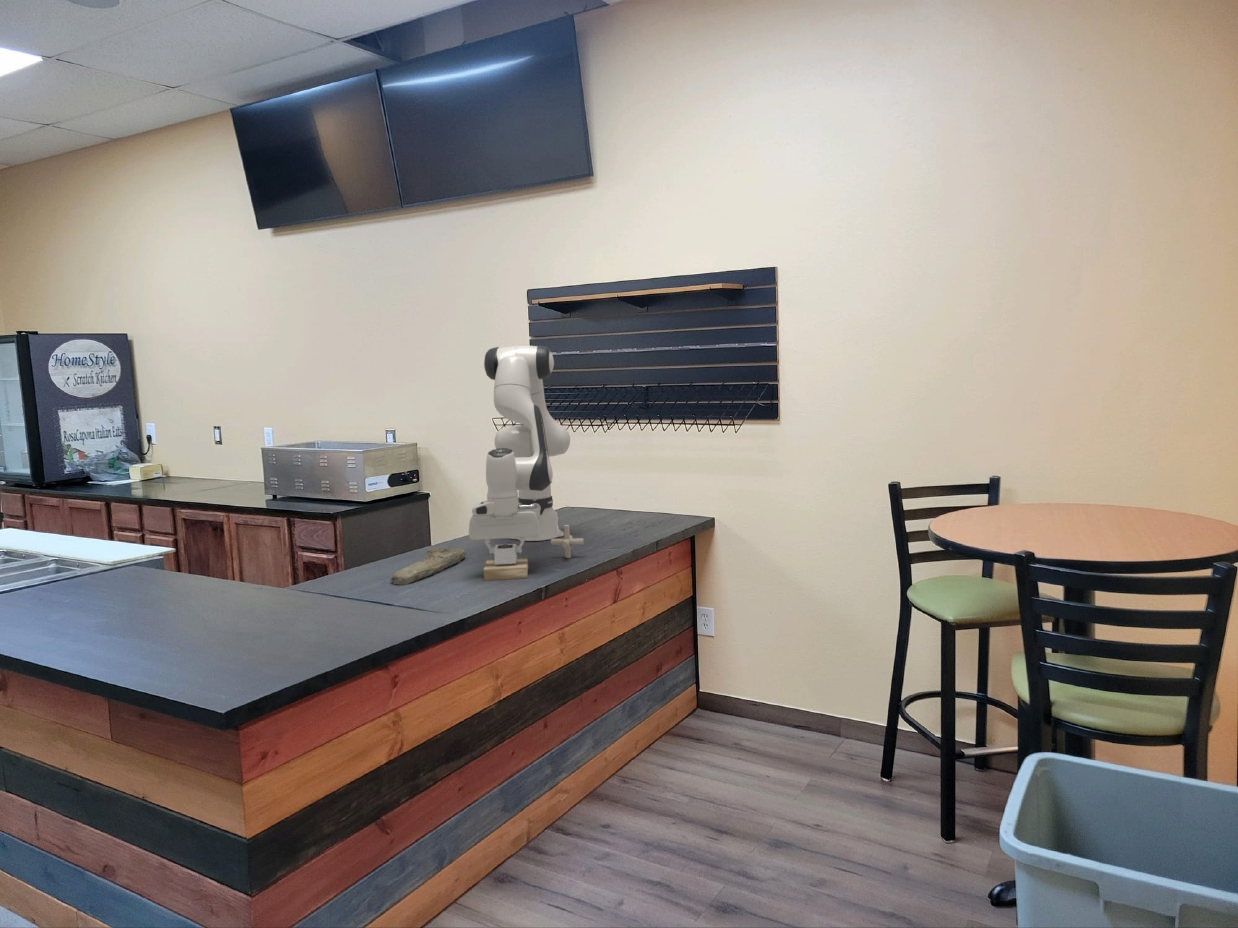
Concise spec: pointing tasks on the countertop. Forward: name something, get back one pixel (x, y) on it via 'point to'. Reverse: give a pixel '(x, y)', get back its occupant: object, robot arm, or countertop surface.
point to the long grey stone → (428, 565)
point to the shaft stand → (506, 569)
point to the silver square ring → (505, 554)
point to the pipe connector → (567, 541)
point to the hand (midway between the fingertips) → (505, 553)
